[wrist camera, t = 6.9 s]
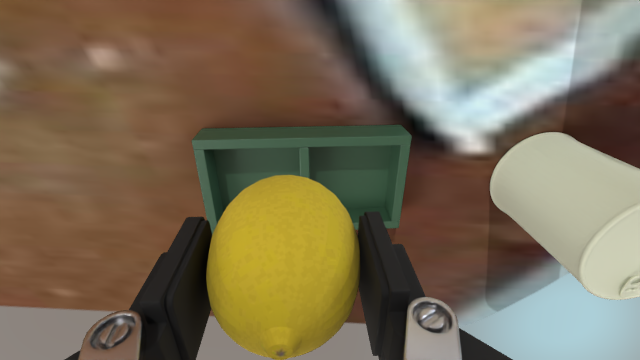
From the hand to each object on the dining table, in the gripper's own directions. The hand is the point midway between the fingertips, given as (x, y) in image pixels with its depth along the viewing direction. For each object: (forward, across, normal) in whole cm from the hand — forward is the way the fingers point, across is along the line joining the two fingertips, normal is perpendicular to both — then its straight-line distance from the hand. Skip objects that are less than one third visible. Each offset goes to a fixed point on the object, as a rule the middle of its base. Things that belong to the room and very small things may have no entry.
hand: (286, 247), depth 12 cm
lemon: (+4, 0, 0) cm, 4 cm away
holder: (+17, -1, +5) cm, 18 cm away
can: (+17, -24, +6) cm, 30 cm away
